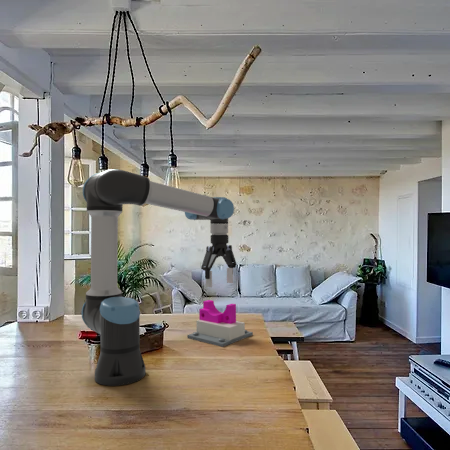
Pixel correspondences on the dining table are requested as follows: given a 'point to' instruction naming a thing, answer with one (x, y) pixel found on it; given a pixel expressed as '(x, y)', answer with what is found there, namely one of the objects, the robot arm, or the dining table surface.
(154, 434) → the dining table surface
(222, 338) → the baseplate
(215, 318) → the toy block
